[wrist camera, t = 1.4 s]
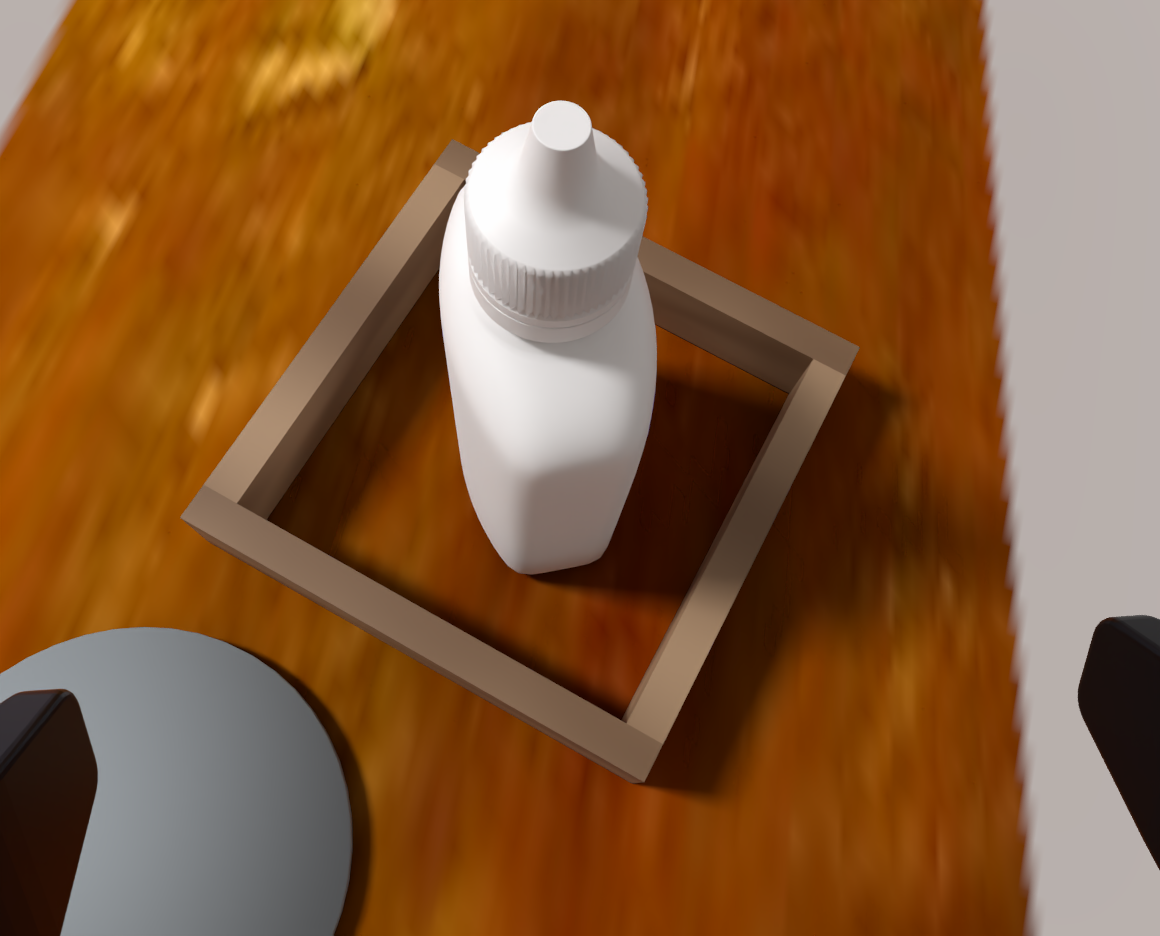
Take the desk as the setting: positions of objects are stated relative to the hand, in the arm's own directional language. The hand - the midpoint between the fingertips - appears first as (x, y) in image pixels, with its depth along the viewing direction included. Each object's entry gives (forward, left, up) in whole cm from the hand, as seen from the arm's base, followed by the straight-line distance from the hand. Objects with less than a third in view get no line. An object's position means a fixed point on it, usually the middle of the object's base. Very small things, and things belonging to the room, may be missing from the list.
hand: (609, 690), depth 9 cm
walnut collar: (+6, +4, -13) cm, 14 cm away
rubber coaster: (-6, +7, -13) cm, 15 cm away
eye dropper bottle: (+6, +4, -13) cm, 15 cm away
